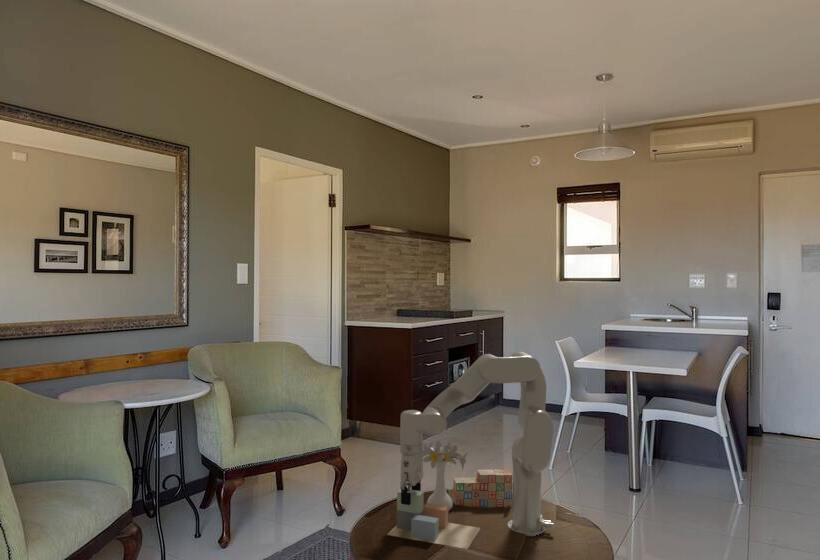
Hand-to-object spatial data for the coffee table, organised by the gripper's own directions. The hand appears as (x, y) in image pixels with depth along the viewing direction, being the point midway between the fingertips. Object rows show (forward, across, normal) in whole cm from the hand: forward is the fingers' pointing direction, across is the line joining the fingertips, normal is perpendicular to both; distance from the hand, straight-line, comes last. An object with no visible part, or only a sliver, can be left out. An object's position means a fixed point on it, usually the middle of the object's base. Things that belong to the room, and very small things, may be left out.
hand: (411, 499), depth 200 cm
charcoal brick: (+10, 0, 0) cm, 10 cm away
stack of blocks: (+11, +33, -17) cm, 38 cm away
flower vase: (+11, +19, -5) cm, 23 cm away
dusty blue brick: (+10, -5, -7) cm, 13 cm away
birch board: (+11, 0, -8) cm, 13 cm away
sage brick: (+4, 0, 0) cm, 4 cm away
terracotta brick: (+10, +6, -7) cm, 13 cm away
